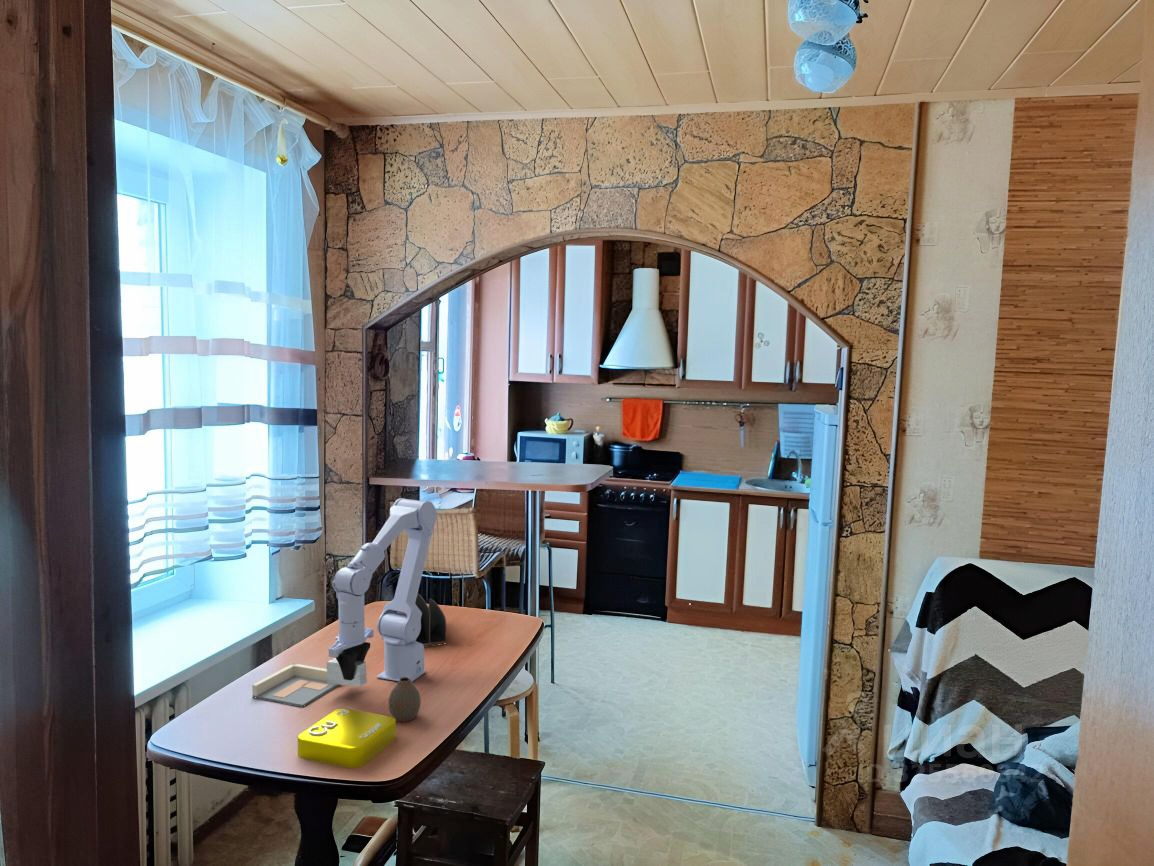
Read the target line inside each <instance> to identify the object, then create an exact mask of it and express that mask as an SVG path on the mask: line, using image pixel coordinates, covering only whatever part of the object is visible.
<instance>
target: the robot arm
mask: <svg viewBox="0 0 1154 866" xmlns="http://www.w3.org/2000/svg"><path fill="white" fill-rule="evenodd" d="M437 516H438V511H437V509H436V506H435V505H434V503H433V502H431V501H429V500H426V501H424V500H417V499H408V498H407V499H406V498H404V497H400V498H397V499H396V500H395V502H394V503H393V505H392V506H391V507H390V508H389V516H388V519H387V520H386V521H385V523H384V524H383V526H382V527H381V529H380V530H379V532H378V534H377V535H376V537H375V538H374V539H373V541H372V542H366V543H365V544H363V545H362V546H361V547H360V549H359V551H358V552H357V553H356V555H354V557H353V558H352V559H351V561H350V562H349V563H348V564H347V566H344V567H342V568H340V569H339V570H338V571H336V573H335V575H334V577H333V581H332V588H333V590H334V591H335V594H336V599H337V600H338V601H337V602H338V635H337V636H335V637H334V639H335V642H334V643H333V645H331V646H330V647H329V648H328V657H329V658H336V660H337V661H338V663H339V665H340V668H341V671H342V675H343V678H344V679H345V680H353V676H354V665H355V661H364V662H365V660H366V657H367V654H368V652H369V650H370V649H371V642H368V641H367V639H369V638H370V639H372V638H373V637H375V635H374V634H375V633H374V632H375V631H374V628H372V627H371V628H370V627H365V626H366V625H365V620H366V619H365V593H366V592H367V591H368V590H369V588H370V585H371V581H372V579H373V574H374V573H375V571H376V570H377V569H378V567H379V566H380V565H381V564H382V562H383V561H384V560H385V558H386V554H385V551H386V549H388V548H389V546H390V545H391V544H392V543H393V542H394V541H395V539H396V538H398V536H399V535H400V534H401V533H402V532H405V533H406V535H407V536H408V541H407V544H406V549H405V554H404V557H403V561H402V564H401V565H402V566H401V569H400V573H399V576H398V581H397V586H396V589H395V593H394V597H393V599H391V601H389V602H387V603H386V604H385V605H384V606H383V608H382V609H383V610H382V613H381V614H380V616H379V618H378V619H377V623H376V629H377V633H378V634H379V635H380V636H381V640H382V641H383V645H384V646H383V647H384V648H383V649H384V650H383V654H384V656H383V657H384V658H383V660H384V661H383V662H384V663H383V664H384V665H383V667H384V668H383V669H384V670H383V671H382V672H381V673H379V674H378V675H377V676H376V677H377V678H378V679H383V680H389V681H395V682H398V681H399V679H400V678H403V677H408V678H410V679H411V682H412V683H413V682H414V681H415V680H416V679H418V678H420V677H421V676H422V675H424V674H425V673H426V672H427V670H426V669H425V647H424V646H423V644H421V643H419V642H417V641H415V640H416V638H417V637H418V635H419V633H420V630H421V616H422V612H421V611H420V610H419V608H418V607H417V606H416V604H415V601H416V597H417V593H418V594H419V588H420V585H421V581H422V577H423V572H424V567H425V565H426V561H427V556H428V552H429V548H430V543H431V541H432V536H433V532H434V529H435V524H436V519H437ZM398 612H404V613H406V614H407V615H404V614H399V613H398Z"/></svg>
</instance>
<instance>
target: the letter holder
mask: <svg viewBox="0 0 1154 866" xmlns="http://www.w3.org/2000/svg"><path fill="white" fill-rule="evenodd" d="M415 604H416V606H417V607H418V608H419V610H420V611H421V612H422V616H421V630H420V633H419V635H418V637H417V638H416V640H415V641H417V642H419V643H421V644H423V646H424V648H426V647H425V646H430V647H433V646H432V645H438V644H444V643H447V639H448V637H447V619H446V618H447V617H446V615H445V614H444V612H443V610H442V608H441V607H440V606H439V605H438V603H437V602H436V601H435V600H434V599H432V598H428V603H426V601H425V599H424V598H423V597H422V595H421V594H419V592H418V593H417V597H416V601H415ZM398 613H399V614H404V615H407V614H406V613H404V612H398ZM438 646H439V645H438Z"/></svg>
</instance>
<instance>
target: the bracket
mask: <svg viewBox="0 0 1154 866" xmlns="http://www.w3.org/2000/svg"><path fill="white" fill-rule="evenodd" d="M326 669H327V683H330V684H339V685H338V686H340V685H341V686H349V687H358V688H359V687H363V686H364V685H366V684H367V682H368V680H367V679H368V678H367V661H365V660H364V661H355V665H354V676H353V680H345V679H344V678H343V675H342V671H341V668H340V665H339V663H338V661H337V660H336V658H334V657H332V659H330V660H328V661H326Z"/></svg>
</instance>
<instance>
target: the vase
mask: <svg viewBox="0 0 1154 866" xmlns="http://www.w3.org/2000/svg"><path fill="white" fill-rule="evenodd" d="M421 701H422V699H421V694H420V691H419V689H418V688H417V686H416V685H415V684H414V683H413V681H412V682H411V679H410V678H408V677H403V678H400V679H399V681H397V683H396V685H395V686H394V687H393V689H392V690H391V692H390V694H389V697H388V710H389V713H390V716H391V717H394V718H395V719H396V721H397V720H398V721H397V722H401V721H405V722H409V720H410V721H411V720H414V718H415V717H416V716H417V715H418V713H419V711H420V708H421V704H422V702H421Z"/></svg>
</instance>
